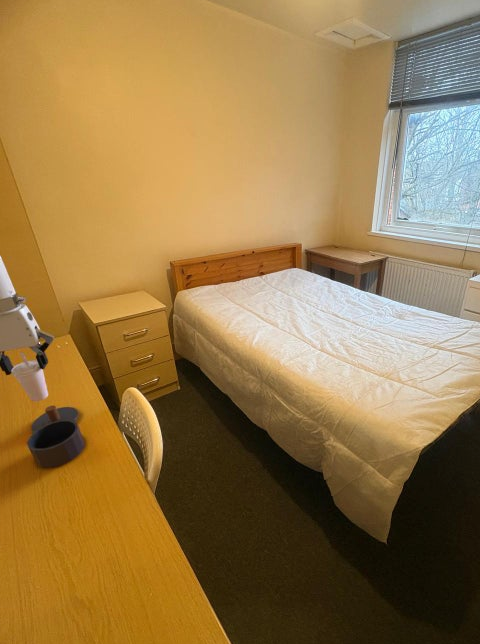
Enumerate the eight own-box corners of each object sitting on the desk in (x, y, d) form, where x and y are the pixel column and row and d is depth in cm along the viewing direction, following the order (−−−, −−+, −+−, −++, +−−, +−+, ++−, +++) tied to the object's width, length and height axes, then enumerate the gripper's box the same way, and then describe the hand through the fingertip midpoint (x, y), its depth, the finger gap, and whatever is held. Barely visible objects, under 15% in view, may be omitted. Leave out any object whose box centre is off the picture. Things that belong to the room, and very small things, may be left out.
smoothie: (36, 407, 82) (14, 360, 76) (18, 401, 84) (-4, 355, 78) (60, 392, 88) (42, 348, 81) (43, 387, 89) (24, 343, 83)
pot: (30, 473, 83) (21, 455, 80) (42, 443, 92) (34, 425, 89) (81, 460, 86) (73, 442, 84) (87, 432, 96) (81, 415, 93)
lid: (27, 441, 92) (19, 426, 90) (38, 415, 102) (32, 401, 99) (75, 430, 96) (69, 415, 94) (82, 406, 106) (77, 392, 104)
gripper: (47, 294, 80) (70, 355, 88) (-44, 303, 73) (-10, 368, 82) (39, 304, 73) (64, 369, 82) (-60, 315, 67) (-22, 385, 75)
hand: (27, 368), depth 82 cm, fingers closed on smoothie, 6 cm apart
